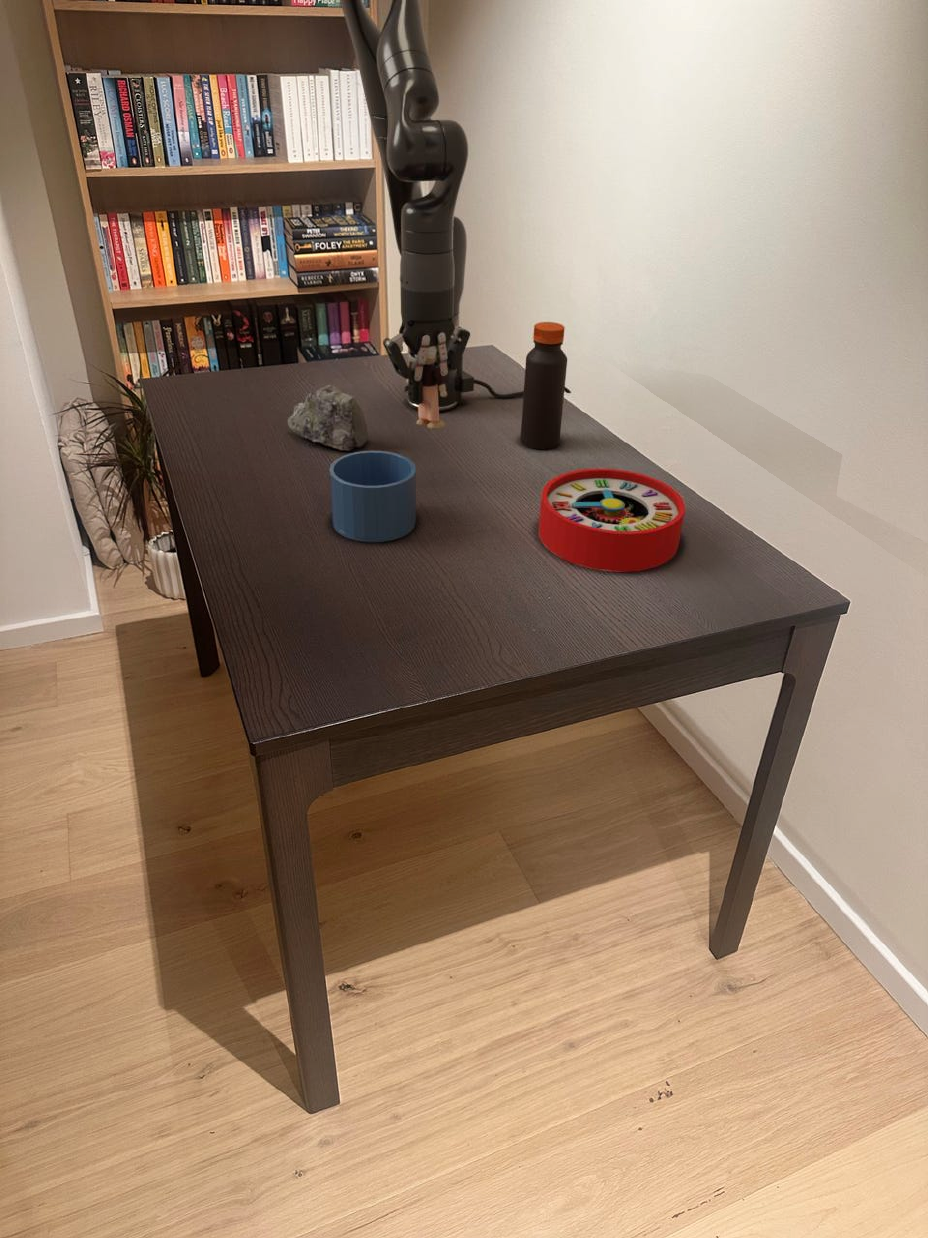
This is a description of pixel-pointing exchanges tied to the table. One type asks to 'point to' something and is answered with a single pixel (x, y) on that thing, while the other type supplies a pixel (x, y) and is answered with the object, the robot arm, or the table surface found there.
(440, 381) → the grandmother figurine
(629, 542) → the toy clock
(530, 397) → the bottle
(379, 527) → the bowl
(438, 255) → the robot arm
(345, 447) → the mineral rock
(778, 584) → the table surface
